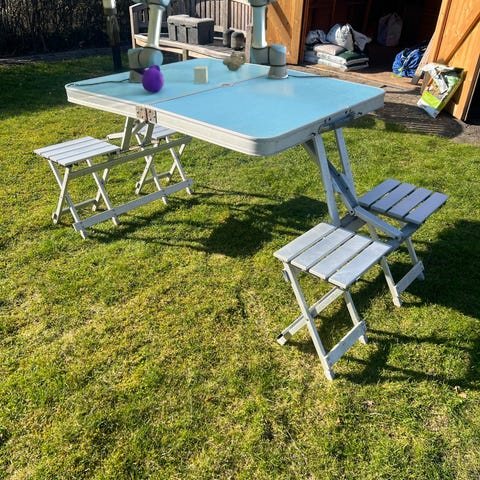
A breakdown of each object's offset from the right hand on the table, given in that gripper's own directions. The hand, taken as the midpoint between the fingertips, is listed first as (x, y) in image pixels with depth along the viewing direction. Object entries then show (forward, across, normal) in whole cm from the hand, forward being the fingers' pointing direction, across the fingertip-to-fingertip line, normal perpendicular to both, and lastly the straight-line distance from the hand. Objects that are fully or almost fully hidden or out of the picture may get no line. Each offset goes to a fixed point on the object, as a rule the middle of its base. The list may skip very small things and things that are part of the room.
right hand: (265, 29), depth 360 cm
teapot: (+30, -8, +25) cm, 40 cm away
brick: (+30, -55, +46) cm, 78 cm away
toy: (+30, -82, +78) cm, 117 cm away
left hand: (0, -83, +98) cm, 128 cm away
